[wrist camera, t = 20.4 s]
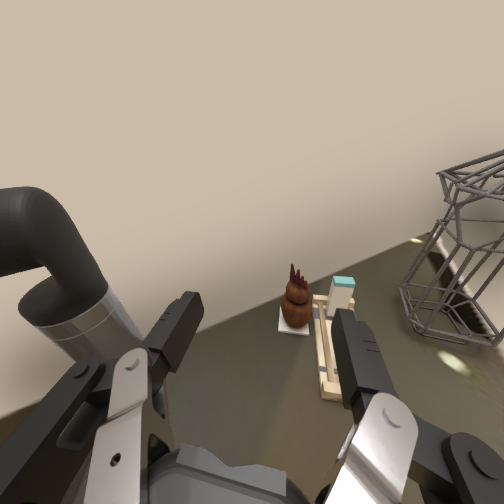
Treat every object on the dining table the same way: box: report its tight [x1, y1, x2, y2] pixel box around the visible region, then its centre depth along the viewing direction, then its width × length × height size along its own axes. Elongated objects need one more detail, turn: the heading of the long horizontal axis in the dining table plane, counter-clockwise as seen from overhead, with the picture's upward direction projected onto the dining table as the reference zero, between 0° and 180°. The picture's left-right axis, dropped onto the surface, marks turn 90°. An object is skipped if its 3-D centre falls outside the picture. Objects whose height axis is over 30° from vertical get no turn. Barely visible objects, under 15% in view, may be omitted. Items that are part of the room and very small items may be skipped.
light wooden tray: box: [312, 295, 357, 403], centre depth 36 cm, size 9×20×3 cm, turn 169°
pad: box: [278, 307, 309, 336], centre depth 41 cm, size 6×6×1 cm
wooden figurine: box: [281, 264, 313, 328], centre depth 37 cm, size 7×6×15 cm
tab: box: [325, 276, 355, 317], centre depth 38 cm, size 4×2×10 cm, turn 79°
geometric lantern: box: [398, 149, 504, 347], centre depth 30 cm, size 16×16×35 cm
